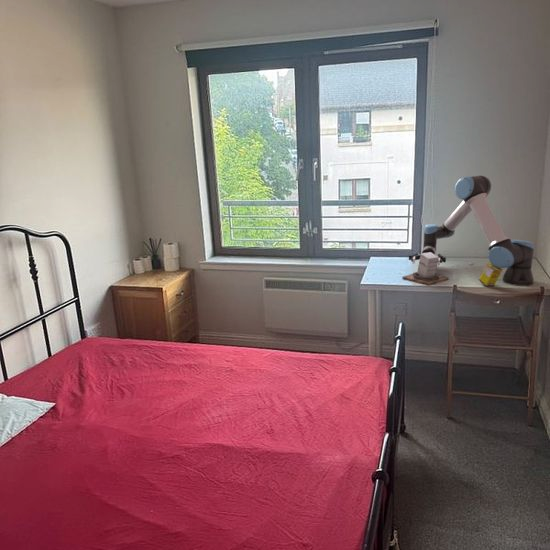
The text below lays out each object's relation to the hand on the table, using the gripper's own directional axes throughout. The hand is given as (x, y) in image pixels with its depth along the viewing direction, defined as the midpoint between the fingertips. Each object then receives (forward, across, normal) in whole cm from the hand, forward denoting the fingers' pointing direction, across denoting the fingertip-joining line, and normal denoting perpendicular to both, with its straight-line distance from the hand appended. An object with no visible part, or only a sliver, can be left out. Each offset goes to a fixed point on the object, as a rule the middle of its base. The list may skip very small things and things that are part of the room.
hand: (426, 262), depth 274 cm
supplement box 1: (-4, 0, -9) cm, 10 cm away
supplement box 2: (0, -32, -10) cm, 33 cm away
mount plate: (-3, 0, -11) cm, 11 cm away
